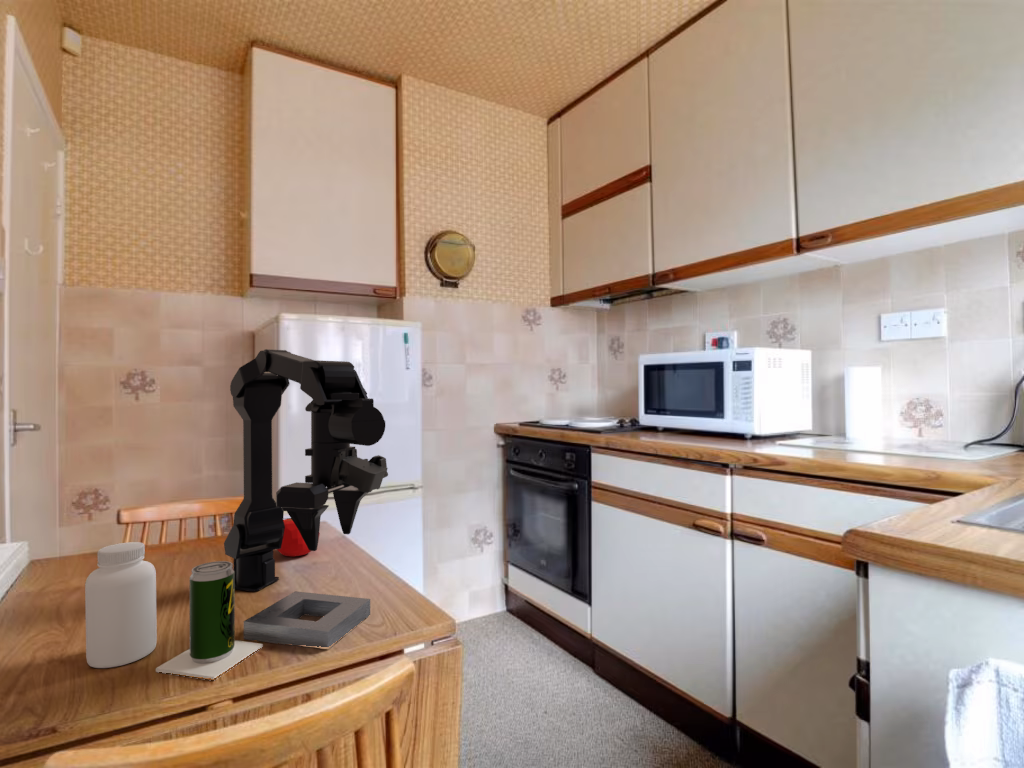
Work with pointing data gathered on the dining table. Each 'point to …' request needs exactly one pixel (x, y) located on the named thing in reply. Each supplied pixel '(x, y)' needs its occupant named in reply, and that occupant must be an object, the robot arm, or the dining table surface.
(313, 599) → the frame
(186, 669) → the tile
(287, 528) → the tomato
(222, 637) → the green silver-topped cylinder
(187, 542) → the dining table surface
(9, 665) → the dining table surface
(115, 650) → the pill bottle
